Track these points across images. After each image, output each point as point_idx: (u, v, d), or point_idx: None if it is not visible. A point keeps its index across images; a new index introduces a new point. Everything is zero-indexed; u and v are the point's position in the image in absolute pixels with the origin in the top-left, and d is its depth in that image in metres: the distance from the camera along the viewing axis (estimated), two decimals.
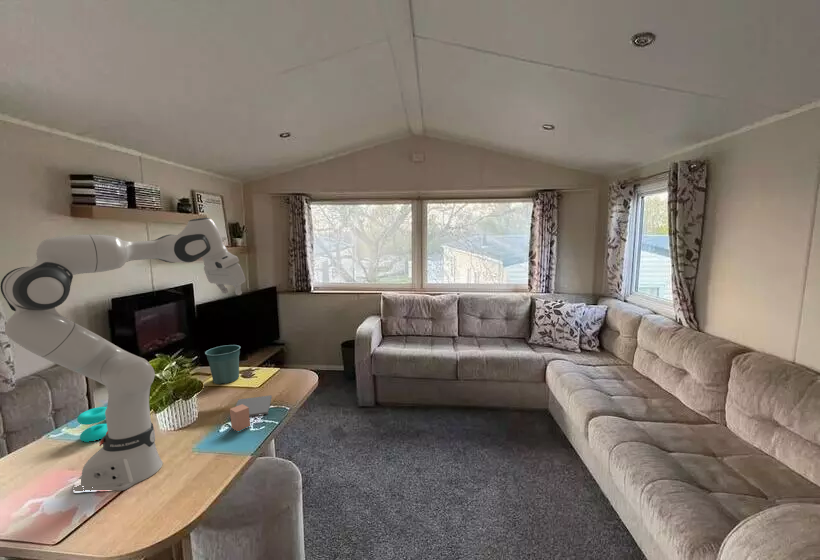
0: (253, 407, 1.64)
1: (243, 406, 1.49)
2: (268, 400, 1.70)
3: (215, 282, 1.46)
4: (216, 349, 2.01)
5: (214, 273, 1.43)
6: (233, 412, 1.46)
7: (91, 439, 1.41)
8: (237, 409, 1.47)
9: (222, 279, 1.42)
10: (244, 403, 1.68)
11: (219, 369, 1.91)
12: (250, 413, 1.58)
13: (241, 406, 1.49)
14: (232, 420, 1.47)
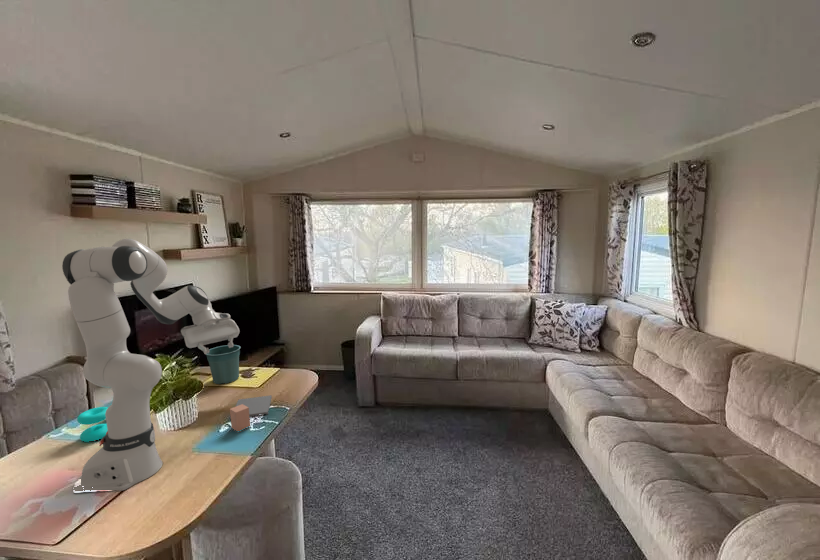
0: (253, 407, 1.64)
1: (243, 406, 1.49)
2: (268, 400, 1.70)
3: (202, 339, 1.50)
4: (216, 349, 2.01)
5: (203, 331, 1.53)
6: (233, 412, 1.46)
7: (91, 439, 1.41)
8: (237, 409, 1.47)
9: (217, 332, 1.56)
10: (244, 403, 1.68)
11: (219, 369, 1.91)
12: (250, 413, 1.58)
13: (241, 406, 1.49)
14: (232, 420, 1.47)
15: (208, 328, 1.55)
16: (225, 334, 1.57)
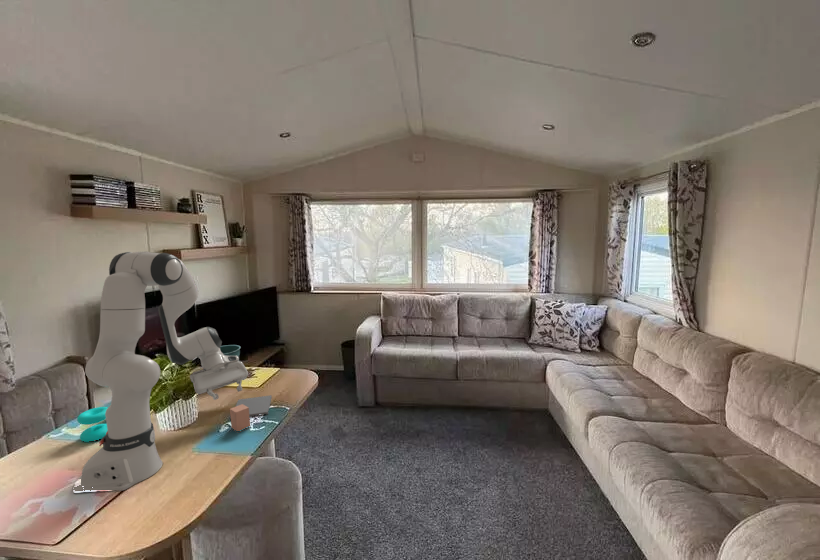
0: (253, 407, 1.64)
1: (243, 406, 1.49)
2: (268, 400, 1.70)
3: (211, 384, 1.50)
4: None
5: (212, 376, 1.53)
6: (233, 412, 1.46)
7: (91, 439, 1.41)
8: (237, 409, 1.47)
9: (226, 376, 1.55)
10: (244, 403, 1.68)
11: None
12: (250, 413, 1.58)
13: (241, 406, 1.49)
14: (232, 420, 1.47)
15: (217, 372, 1.54)
16: (234, 378, 1.56)
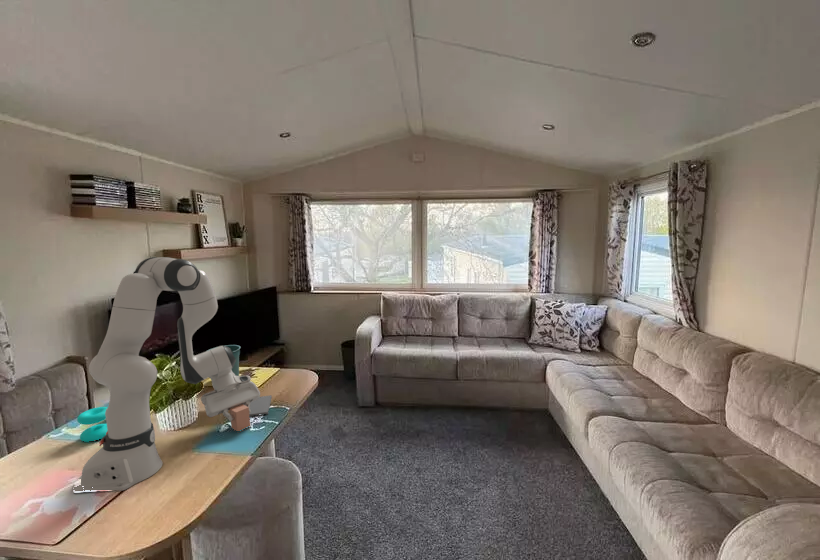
0: (253, 407, 1.64)
1: (243, 406, 1.49)
2: (268, 400, 1.70)
3: (223, 407, 1.45)
4: None
5: (224, 397, 1.48)
6: (233, 412, 1.46)
7: (91, 439, 1.41)
8: (237, 409, 1.47)
9: (238, 398, 1.50)
10: None
11: None
12: (250, 413, 1.58)
13: (241, 406, 1.49)
14: None
15: (228, 394, 1.50)
16: (246, 399, 1.52)
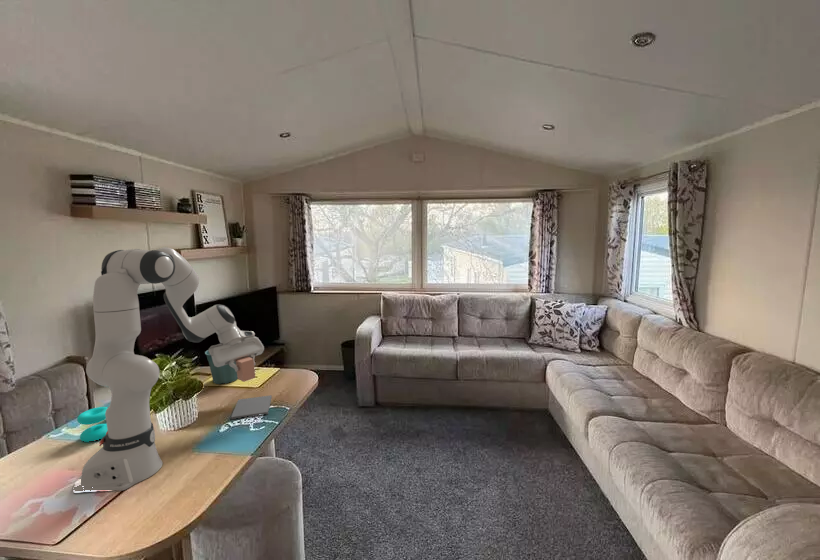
0: (253, 407, 1.64)
1: (248, 358, 1.58)
2: (268, 400, 1.70)
3: (229, 358, 1.54)
4: None
5: (230, 349, 1.56)
6: (239, 363, 1.54)
7: (91, 439, 1.41)
8: (242, 360, 1.55)
9: (243, 350, 1.59)
10: (244, 403, 1.68)
11: (219, 369, 1.91)
12: (250, 413, 1.58)
13: (246, 358, 1.57)
14: (238, 371, 1.56)
15: (234, 346, 1.58)
16: (250, 352, 1.60)
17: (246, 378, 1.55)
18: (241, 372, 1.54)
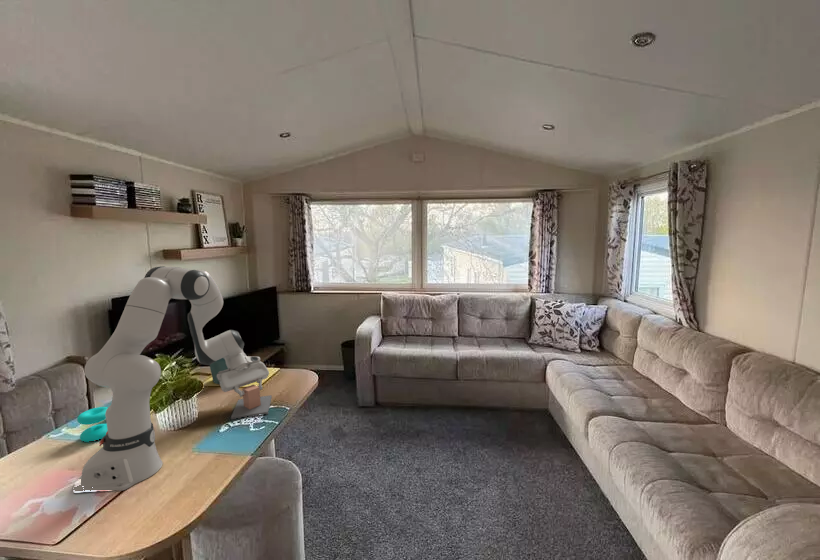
0: None
1: (254, 386, 1.66)
2: (268, 400, 1.70)
3: (236, 383, 1.62)
4: None
5: (237, 375, 1.64)
6: (245, 391, 1.62)
7: (91, 439, 1.41)
8: (249, 388, 1.64)
9: (249, 375, 1.67)
10: None
11: (219, 369, 1.91)
12: (250, 413, 1.58)
13: (252, 386, 1.66)
14: (244, 398, 1.64)
15: (241, 372, 1.66)
16: (256, 377, 1.68)
17: (252, 406, 1.63)
18: (247, 400, 1.62)
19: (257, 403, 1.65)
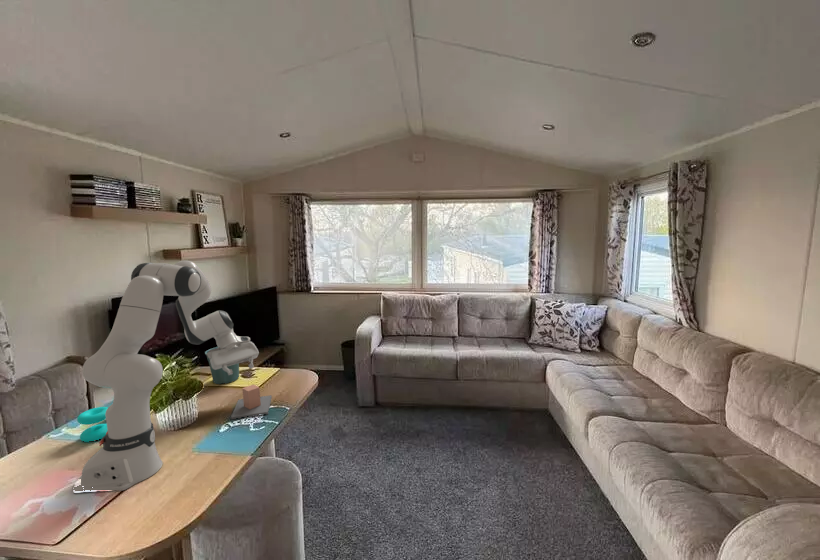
0: None
1: (254, 386, 1.66)
2: (268, 400, 1.70)
3: (226, 361, 1.66)
4: None
5: (227, 353, 1.69)
6: (245, 391, 1.62)
7: (91, 439, 1.41)
8: (249, 388, 1.64)
9: (239, 354, 1.71)
10: None
11: (219, 369, 1.91)
12: (250, 413, 1.58)
13: (252, 386, 1.66)
14: (244, 398, 1.64)
15: (231, 351, 1.70)
16: (246, 356, 1.72)
17: (252, 406, 1.63)
18: (247, 400, 1.62)
19: (257, 403, 1.65)
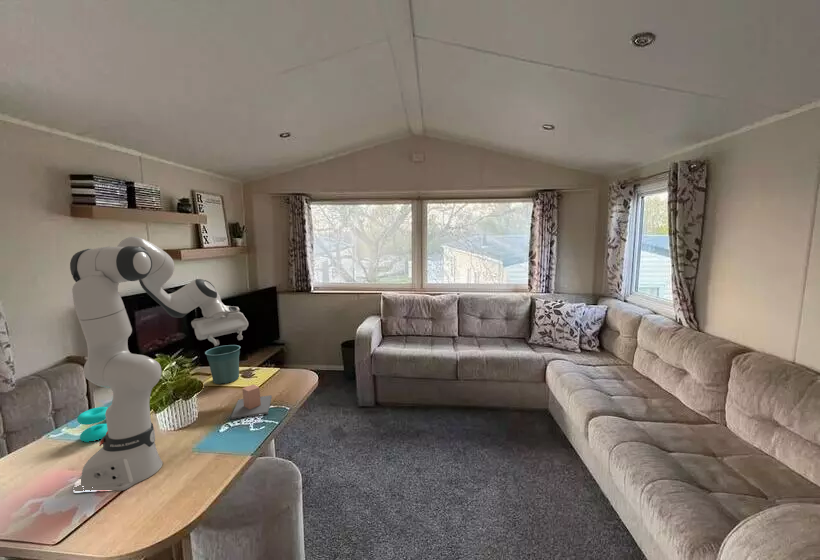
0: None
1: (254, 386, 1.66)
2: (268, 400, 1.70)
3: (212, 331, 1.52)
4: (216, 349, 2.01)
5: (213, 323, 1.55)
6: (245, 391, 1.62)
7: (91, 439, 1.41)
8: (249, 388, 1.64)
9: (226, 325, 1.57)
10: None
11: (219, 369, 1.91)
12: (250, 413, 1.58)
13: (252, 386, 1.66)
14: (244, 398, 1.64)
15: (218, 320, 1.57)
16: (234, 326, 1.59)
17: (252, 406, 1.63)
18: (247, 400, 1.62)
19: (257, 403, 1.65)
